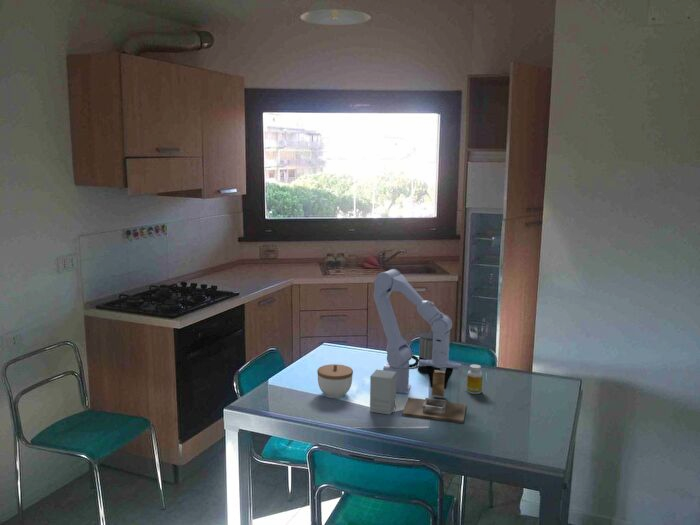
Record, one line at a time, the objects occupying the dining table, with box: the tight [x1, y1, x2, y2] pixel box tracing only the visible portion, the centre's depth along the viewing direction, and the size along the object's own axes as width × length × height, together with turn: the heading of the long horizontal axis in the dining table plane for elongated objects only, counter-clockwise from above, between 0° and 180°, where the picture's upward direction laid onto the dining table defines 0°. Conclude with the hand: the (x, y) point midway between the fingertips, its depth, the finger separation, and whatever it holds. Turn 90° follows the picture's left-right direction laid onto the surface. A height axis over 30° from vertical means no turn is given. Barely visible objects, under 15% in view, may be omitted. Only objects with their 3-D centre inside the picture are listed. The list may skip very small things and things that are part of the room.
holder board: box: [401, 397, 467, 424], centre depth 205 cm, size 20×14×3 cm
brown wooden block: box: [431, 369, 446, 397], centre depth 215 cm, size 4×4×8 cm
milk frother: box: [409, 331, 441, 375], centre depth 245 cm, size 14×16×15 cm
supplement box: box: [369, 368, 397, 415], centre depth 204 cm, size 7×7×13 cm
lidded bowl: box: [316, 363, 354, 399], centre depth 216 cm, size 13×13×11 cm
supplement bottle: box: [466, 364, 483, 395], centre depth 222 cm, size 5×5×10 cm
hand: (438, 387), depth 216 cm, fingers closed on brown wooden block, 4 cm apart
